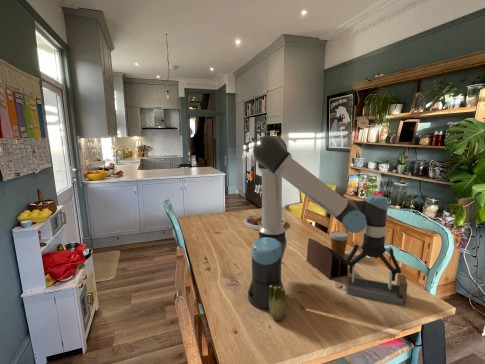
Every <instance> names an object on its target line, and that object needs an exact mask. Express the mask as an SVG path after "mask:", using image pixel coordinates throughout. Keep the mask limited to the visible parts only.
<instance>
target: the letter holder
mask: <svg viewBox="0 0 485 364" xmlns="http://www.w3.org/2000/svg"><path fill="white" fill-rule="evenodd" d="M346 259H347V258H346ZM346 259H345V257H344V256H343V257H342V256H341V255H339V254H338V253H337V252H335V251H334V250H332V248H330V247H328V246H326V245H324V244H322V243H320V242H319V241H317V240H316V239H313V238H311V237H310V238H308V240H307V253H306V262H307V263H308V264H309V265H310V266H311V267H313V268H315V269H316V270H317V271H319V272H320V274H322V275H323V276H324V277H326V278H327V279H328V280H335V279H336V280H337V279H340V278H345V277H349V265H346V264H345V260H346Z"/></svg>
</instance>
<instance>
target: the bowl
mask: <svg viewBox="0 0 485 364" xmlns="http://www.w3.org/2000/svg"><path fill="white" fill-rule="evenodd" d="M244 224H245V226H246V227H247V228H248V229H251V230H254V231H259V228H260V227H261V226H262V213H258V214H257V213H256V214H251V215H248V216H246V217H245V218H244ZM285 225H286V219H285V217H283V216H282V226H283V227H284V226H285Z"/></svg>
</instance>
